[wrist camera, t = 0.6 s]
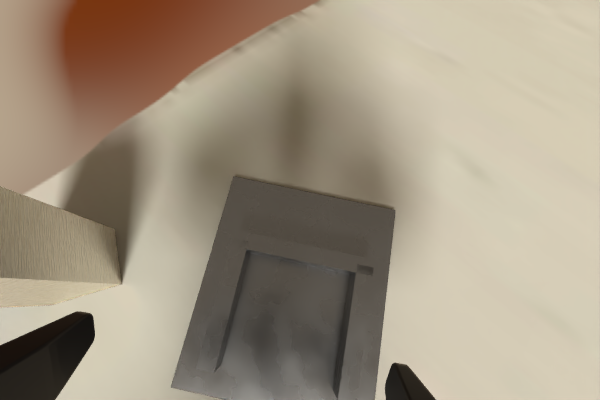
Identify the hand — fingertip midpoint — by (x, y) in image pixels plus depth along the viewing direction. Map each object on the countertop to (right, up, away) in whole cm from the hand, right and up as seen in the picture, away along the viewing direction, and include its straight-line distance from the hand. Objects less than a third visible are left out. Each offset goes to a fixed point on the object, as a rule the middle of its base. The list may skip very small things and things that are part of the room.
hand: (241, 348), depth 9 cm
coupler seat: (+1, -3, +14) cm, 14 cm away
